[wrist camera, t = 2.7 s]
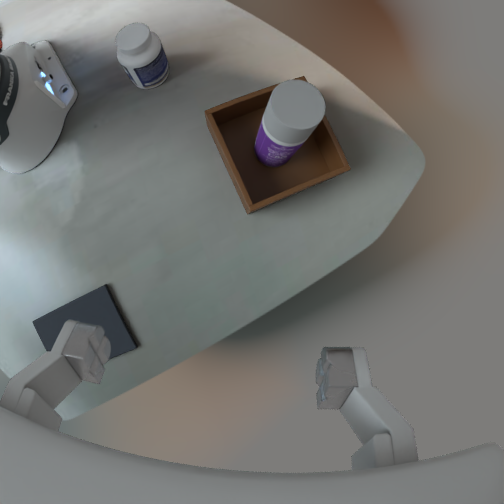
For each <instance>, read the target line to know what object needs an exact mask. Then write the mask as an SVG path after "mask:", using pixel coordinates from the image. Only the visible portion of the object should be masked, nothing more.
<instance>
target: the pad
mask: <svg viewBox="0 0 504 504" xmlns="http://www.w3.org/2000/svg"><path fill="white" fill-rule="evenodd" d="M67 320H74V321H79V322H83V323H88V324H93V325H99V326H102V327H103V329H104V331H105V333H104V335H105V336H106V337H107V338H108V339H109V341H110V344H111V353H110V357H109V359H110V358H113V357H115V356H118V355H121V354H123V353H126V352H128V351H131V350H133V349H136V348H137V345H136V343H135V341H134V339H133V337H132V336H131V334H130V332H129V330H128V328H127V326H126V324H125V322H124V320H123V318H122V316H121V314H120V312H119V310H118V308H117V306H116V304H115V302H114V300H113V298H112V296H111V293H110V291H109V289H108V287H107V285H104V286H102V287H100V288H98V289H96V290H94V291H92V292H90V293H88V294H86V295H84V296H82V297H80V298H78V299H76V300H74V301H72V302H70V303H68V304H66V305H64V306H62V307H60V308H58V309H56V310H54V311H52V312H50V313H48V314H46V315H44V316H42V317H40V318H38V319H37V320H35V321H33V324H34V326H35V329H36V331H37V333H38V335H39V337H40V339H41V341H42V343H43V345H44V347H45V349H46V351H50V352H51V350H52V348H53V346H54V344H55V342H56V339H57V337H58V335H59V333H60V331H61V329H62V328H63V326H64V324H65V322H66V321H67Z"/></svg>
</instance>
